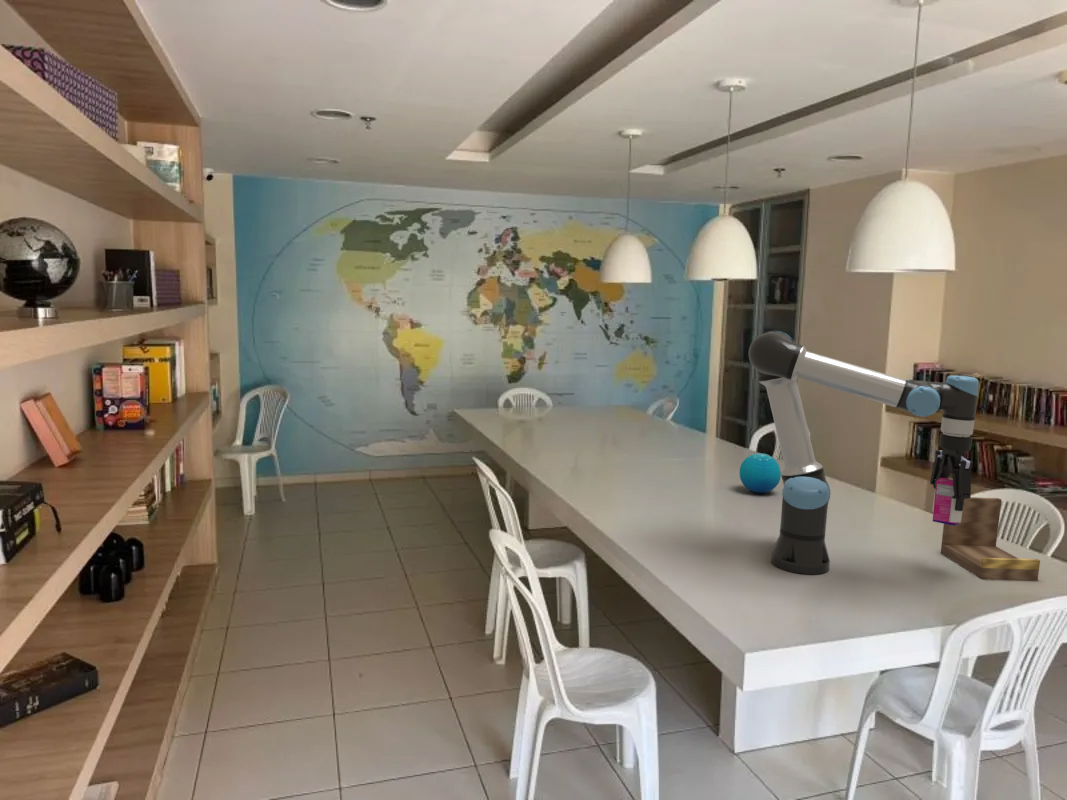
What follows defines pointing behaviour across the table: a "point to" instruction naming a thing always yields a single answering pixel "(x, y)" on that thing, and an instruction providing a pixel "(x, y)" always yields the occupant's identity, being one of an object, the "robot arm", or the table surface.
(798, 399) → the robot arm
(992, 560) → the display shelf
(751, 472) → the decorative orb
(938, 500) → the supplement box
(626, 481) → the table surface
